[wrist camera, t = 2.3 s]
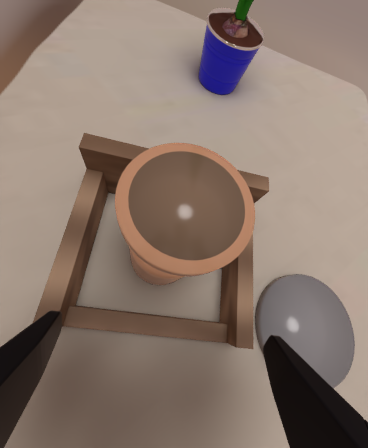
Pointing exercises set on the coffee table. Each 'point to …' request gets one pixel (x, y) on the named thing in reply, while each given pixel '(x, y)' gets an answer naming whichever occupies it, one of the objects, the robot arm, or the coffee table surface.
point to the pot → (182, 212)
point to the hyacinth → (228, 47)
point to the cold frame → (83, 242)
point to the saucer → (308, 324)
